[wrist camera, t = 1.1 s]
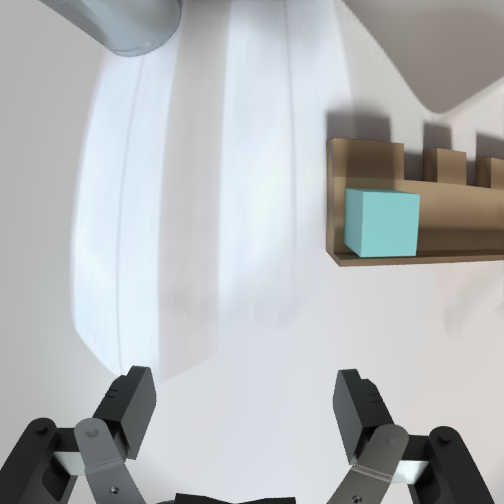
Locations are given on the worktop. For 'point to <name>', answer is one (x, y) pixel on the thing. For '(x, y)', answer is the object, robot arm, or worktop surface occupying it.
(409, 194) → the teal block
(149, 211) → the worktop surface
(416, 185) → the walnut tray
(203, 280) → the worktop surface
